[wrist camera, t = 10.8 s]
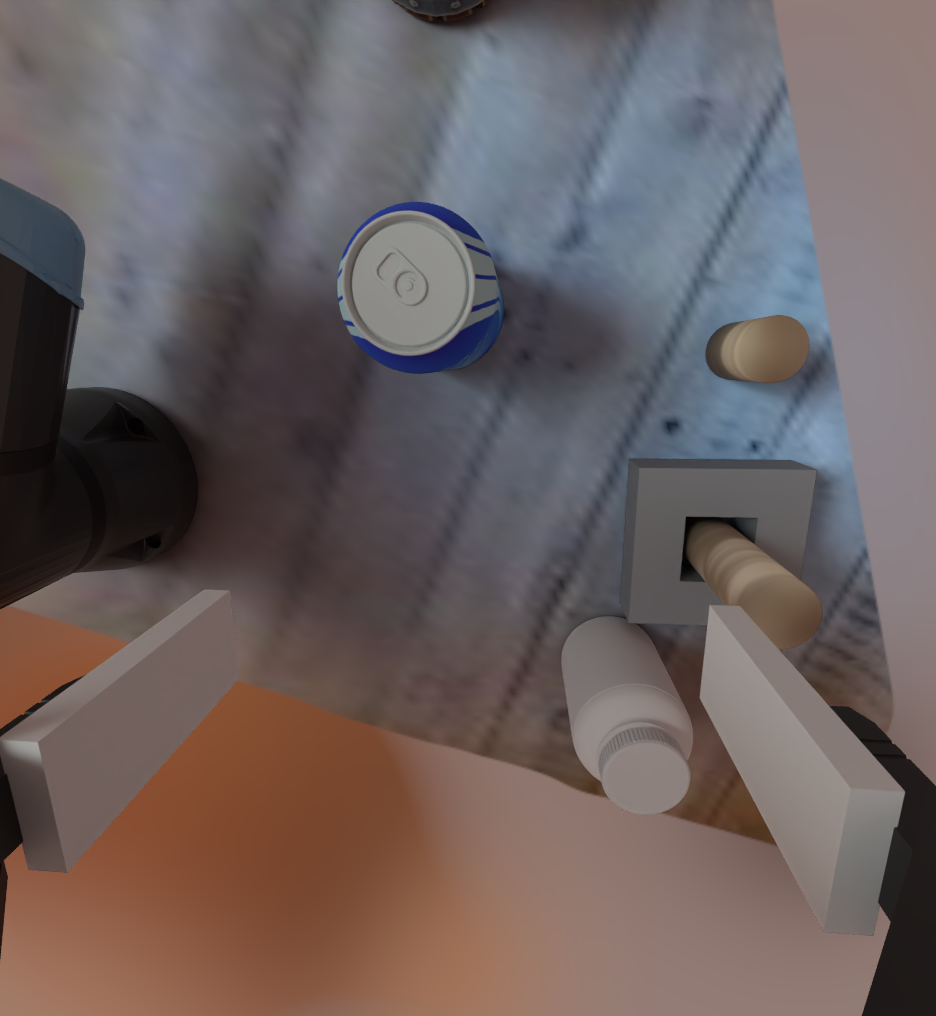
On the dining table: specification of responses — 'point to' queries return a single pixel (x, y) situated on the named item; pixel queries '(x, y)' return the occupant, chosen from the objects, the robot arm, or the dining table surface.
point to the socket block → (705, 493)
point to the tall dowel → (752, 581)
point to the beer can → (420, 290)
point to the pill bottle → (626, 715)
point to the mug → (441, 8)
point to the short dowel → (758, 349)
